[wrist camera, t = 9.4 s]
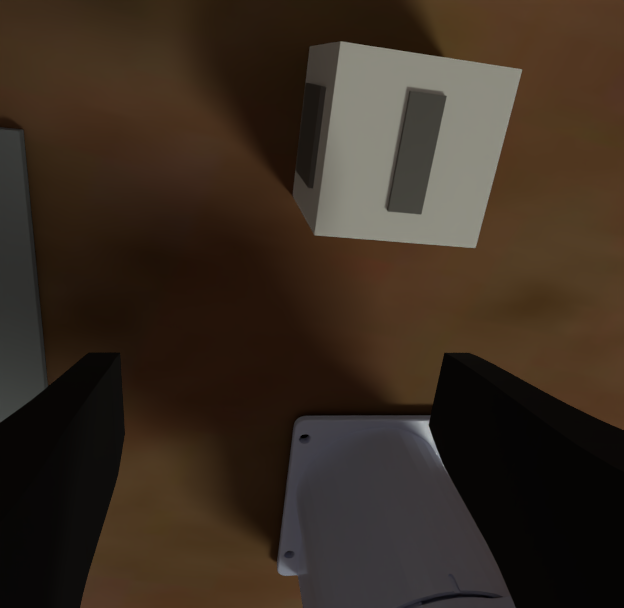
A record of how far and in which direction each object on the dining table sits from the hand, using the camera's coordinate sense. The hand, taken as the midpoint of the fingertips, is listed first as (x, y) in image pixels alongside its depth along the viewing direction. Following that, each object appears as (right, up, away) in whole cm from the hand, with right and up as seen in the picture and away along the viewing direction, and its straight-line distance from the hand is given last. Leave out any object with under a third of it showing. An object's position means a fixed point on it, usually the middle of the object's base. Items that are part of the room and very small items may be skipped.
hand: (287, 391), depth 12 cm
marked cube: (+3, +8, +7) cm, 11 cm away
